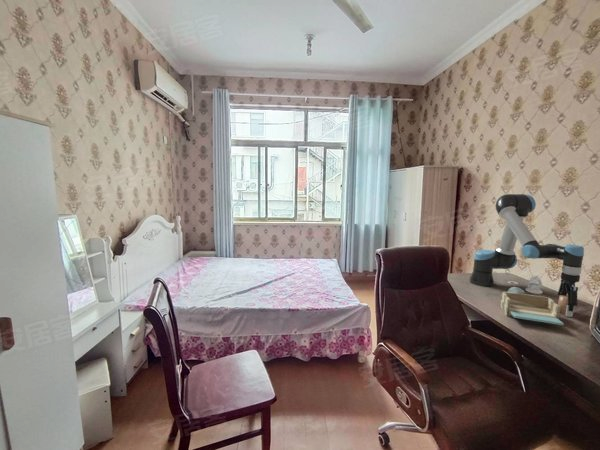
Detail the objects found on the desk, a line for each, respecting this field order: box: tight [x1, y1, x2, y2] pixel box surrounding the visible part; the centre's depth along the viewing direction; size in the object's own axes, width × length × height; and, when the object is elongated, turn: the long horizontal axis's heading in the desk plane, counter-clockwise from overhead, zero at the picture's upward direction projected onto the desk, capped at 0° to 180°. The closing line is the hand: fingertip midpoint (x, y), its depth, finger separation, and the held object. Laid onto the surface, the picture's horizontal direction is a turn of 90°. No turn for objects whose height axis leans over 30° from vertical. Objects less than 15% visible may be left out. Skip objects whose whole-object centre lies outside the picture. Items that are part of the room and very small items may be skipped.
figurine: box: [525, 275, 544, 295], centre depth 195 cm, size 12×9×10 cm
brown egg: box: [557, 295, 568, 316], centre depth 162 cm, size 6×6×9 cm
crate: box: [499, 291, 560, 320], centre depth 160 cm, size 14×22×9 cm, turn 67°
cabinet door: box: [510, 311, 565, 326], centre depth 149 cm, size 1×20×9 cm
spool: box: [507, 286, 526, 294], centre depth 178 cm, size 14×10×10 cm
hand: (564, 312), depth 163 cm, fingers open, 9 cm apart
